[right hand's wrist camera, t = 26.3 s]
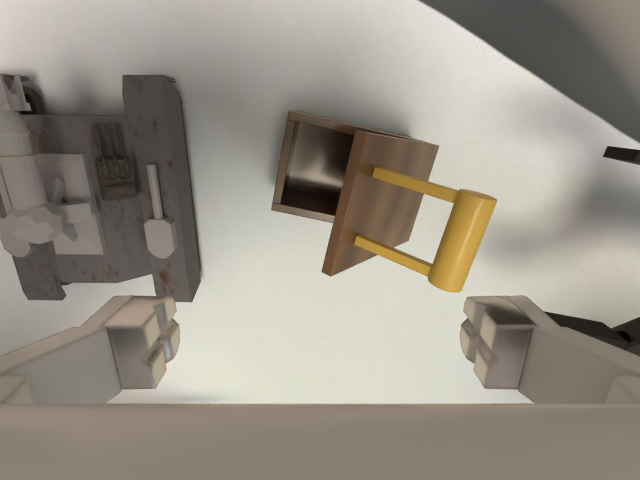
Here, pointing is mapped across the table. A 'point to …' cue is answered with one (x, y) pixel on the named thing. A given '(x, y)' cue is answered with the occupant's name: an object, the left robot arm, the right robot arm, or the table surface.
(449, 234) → the lid
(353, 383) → the table surface
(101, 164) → the toy
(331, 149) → the chest
